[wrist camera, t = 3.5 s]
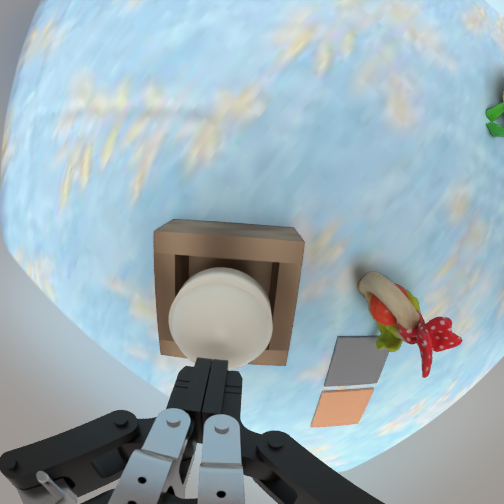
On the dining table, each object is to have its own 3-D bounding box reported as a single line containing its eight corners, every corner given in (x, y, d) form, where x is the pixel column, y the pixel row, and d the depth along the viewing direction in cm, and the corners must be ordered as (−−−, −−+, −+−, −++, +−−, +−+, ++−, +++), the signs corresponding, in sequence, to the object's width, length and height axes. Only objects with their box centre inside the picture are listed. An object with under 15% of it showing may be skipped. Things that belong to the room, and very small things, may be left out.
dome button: (272, 258, 20) (282, 302, 13) (264, 333, 22) (268, 396, 15) (185, 251, 20) (152, 291, 13) (186, 327, 22) (162, 386, 15)
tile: (373, 387, 28) (374, 389, 28) (357, 421, 30) (358, 423, 29) (322, 391, 28) (322, 392, 27) (310, 425, 29) (310, 427, 29)
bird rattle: (333, 297, 27) (387, 359, 25) (333, 320, 16) (411, 410, 14) (378, 254, 26) (430, 318, 24) (407, 249, 15) (478, 347, 13)
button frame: (293, 227, 23) (304, 241, 18) (280, 333, 26) (285, 365, 21) (173, 219, 23) (153, 231, 18) (175, 324, 25) (160, 354, 21)
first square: (393, 335, 26) (394, 336, 26) (376, 381, 28) (376, 383, 27) (337, 336, 26) (338, 338, 25) (324, 384, 27) (324, 386, 27)
